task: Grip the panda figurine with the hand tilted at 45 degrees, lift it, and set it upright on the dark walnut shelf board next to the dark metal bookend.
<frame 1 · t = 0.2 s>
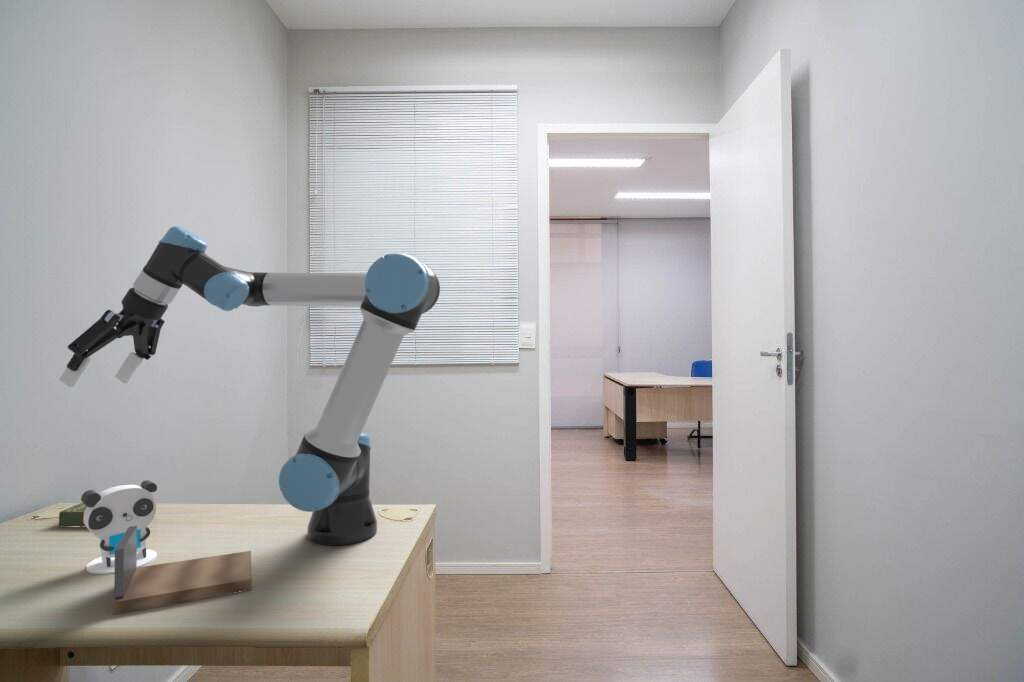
hand: (94, 381, 112), 35 cm above the table, tool tilted 35°, fingers open, 13 cm apart
bookend: (126, 583, 93), resting on shelf board
carton: (105, 523, 130), on the table
panda figurine: (120, 563, 107), on the table
shelf board: (189, 584, 97), on the table
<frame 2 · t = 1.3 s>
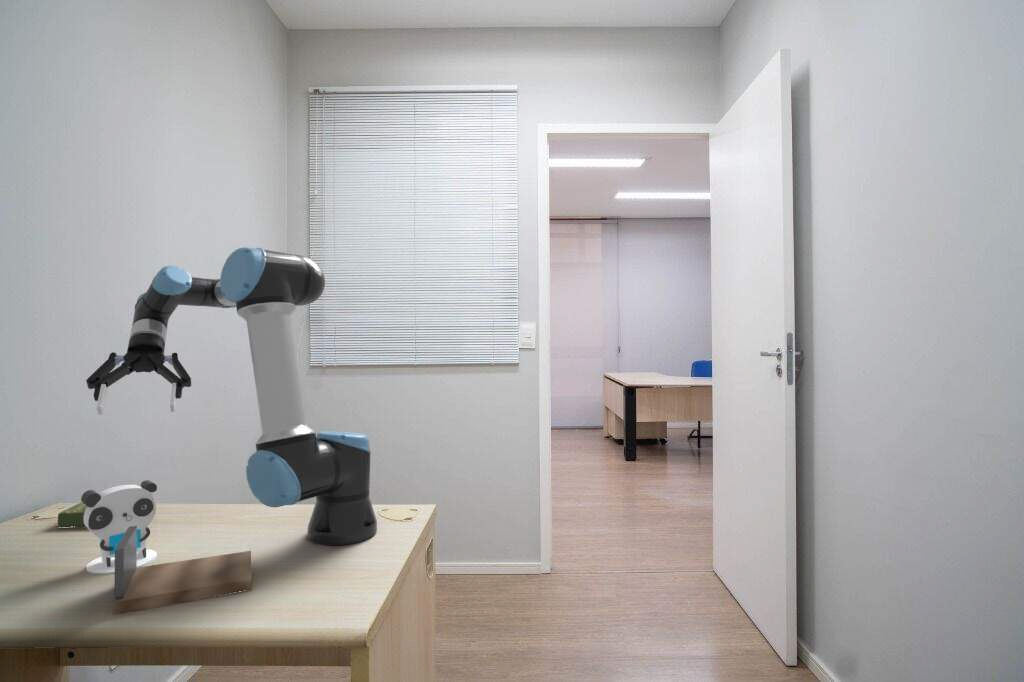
hand: (136, 409, 122), 28 cm above the table, tool tilted 45°, fingers open, 13 cm apart
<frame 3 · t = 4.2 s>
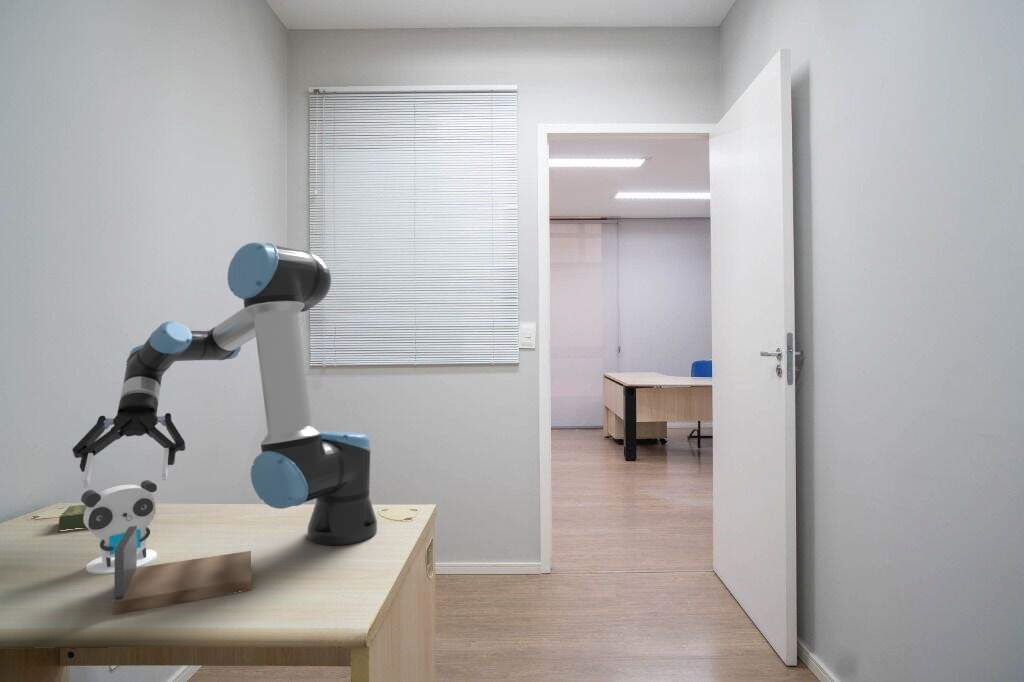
hand: (126, 480, 114), 14 cm above the table, tool tilted 45°, fingers open, 13 cm apart
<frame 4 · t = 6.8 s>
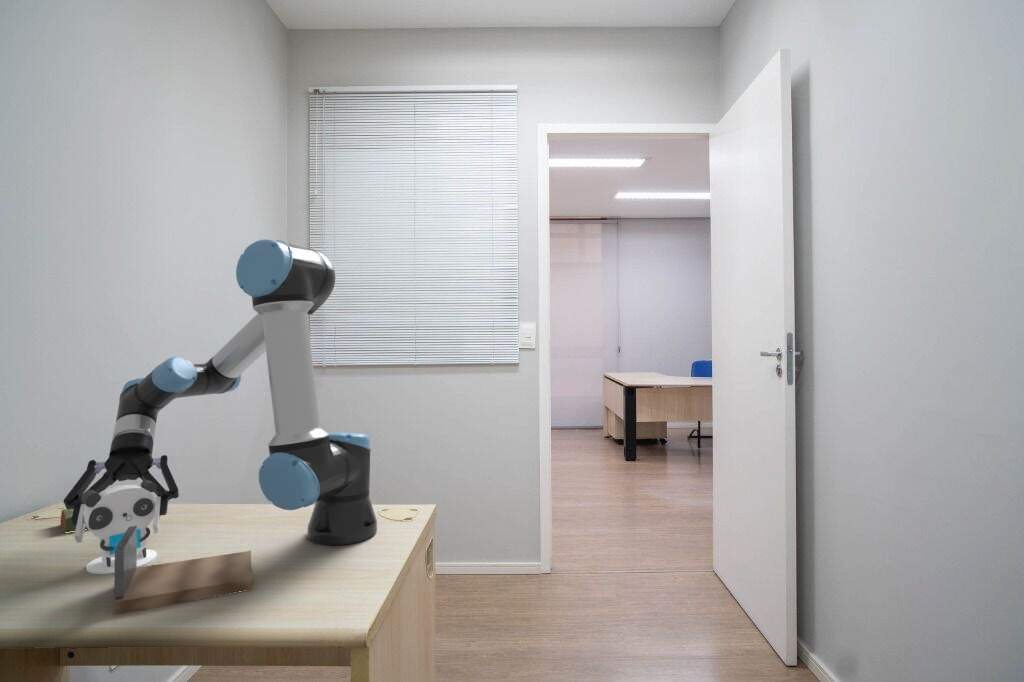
hand: (117, 534, 104), 6 cm above the table, tool tilted 45°, fingers closed on panda figurine, 11 cm apart
panda figurine: (120, 563, 107), on the table, touching gripper
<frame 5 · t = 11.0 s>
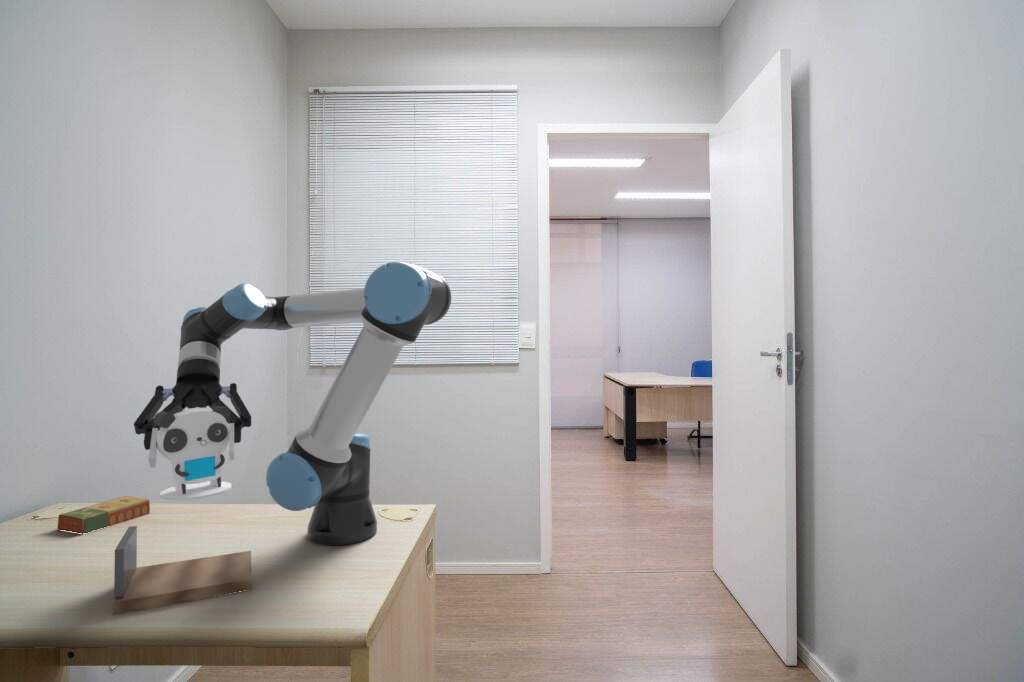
hand: (193, 459, 96), 23 cm above the table, tool tilted 45°, fingers closed on panda figurine, 11 cm apart
panda figurine: (194, 492, 99), point 16 cm above the table, touching gripper
when the fingers open (10 cm above the table, at t = 15.0 s): panda figurine drops 1 cm, resting on shelf board.
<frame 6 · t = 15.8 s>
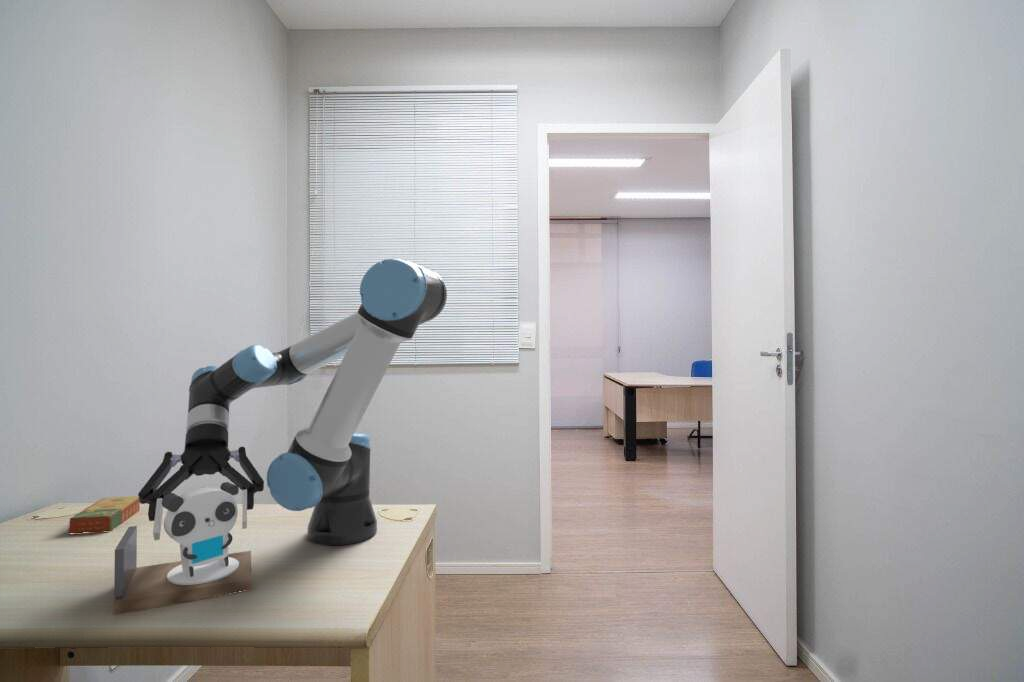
hand: (201, 530, 96), 10 cm above the table, tool tilted 45°, fingers open, 13 cm apart
panda figurine: (202, 572, 98), point 2 cm above the table, touching shelf board
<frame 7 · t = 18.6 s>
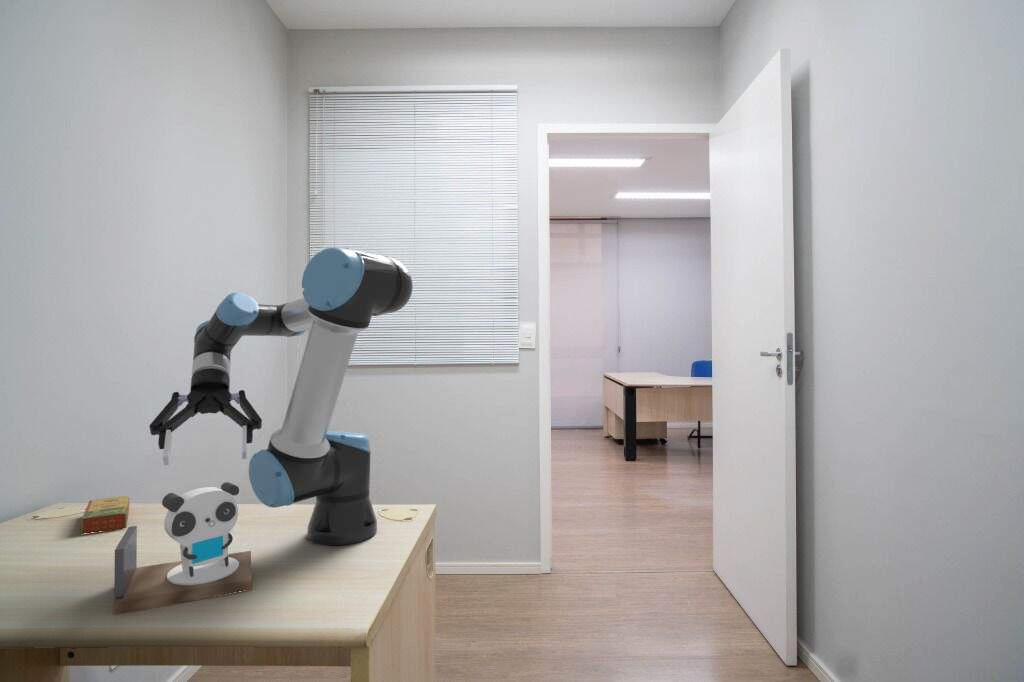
hand: (206, 458, 108), 20 cm above the table, tool tilted 45°, fingers open, 13 cm apart
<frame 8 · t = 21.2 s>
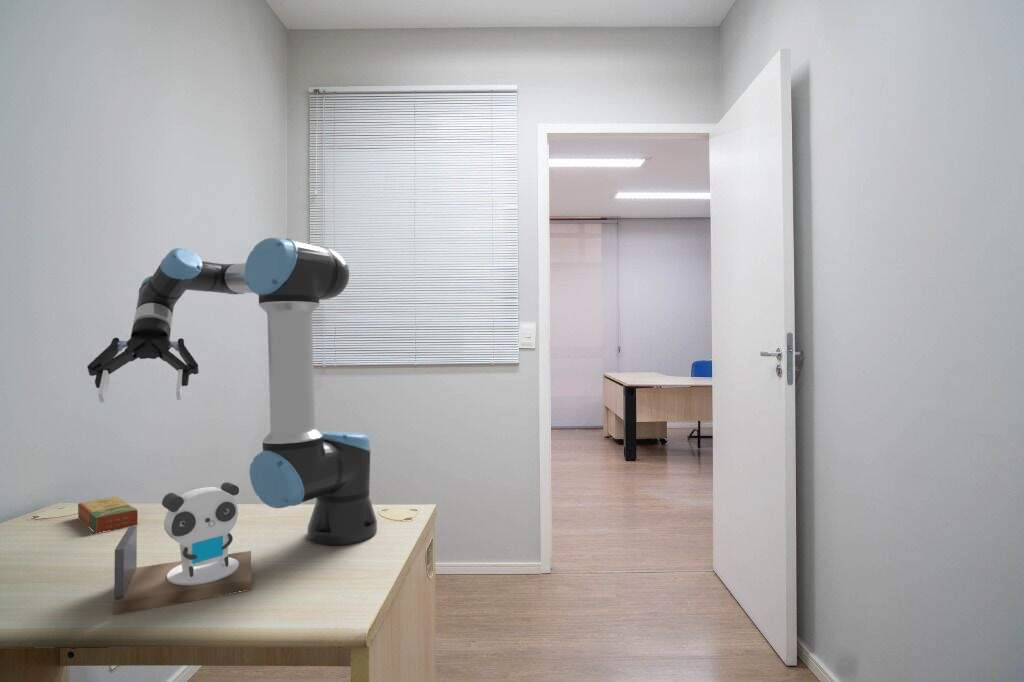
hand: (140, 397, 114), 32 cm above the table, tool tilted 45°, fingers open, 13 cm apart
at the end: panda figurine inside the target area on the shelf board (0.4 cm from its centre), point 1.8 cm above the shelf board's base; panda figurine tilted 0°; the gripper is holding nothing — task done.
